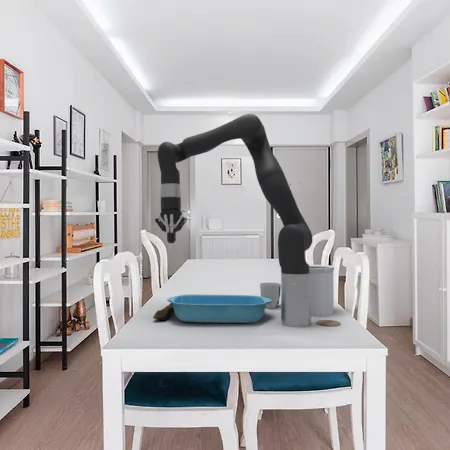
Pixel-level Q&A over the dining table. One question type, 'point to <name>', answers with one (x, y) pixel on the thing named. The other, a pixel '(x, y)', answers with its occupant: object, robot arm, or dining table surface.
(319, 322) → the cork coaster
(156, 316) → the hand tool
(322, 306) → the utensil holder
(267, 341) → the dining table surface
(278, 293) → the cup
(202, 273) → the dining table surface
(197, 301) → the casserole dish
